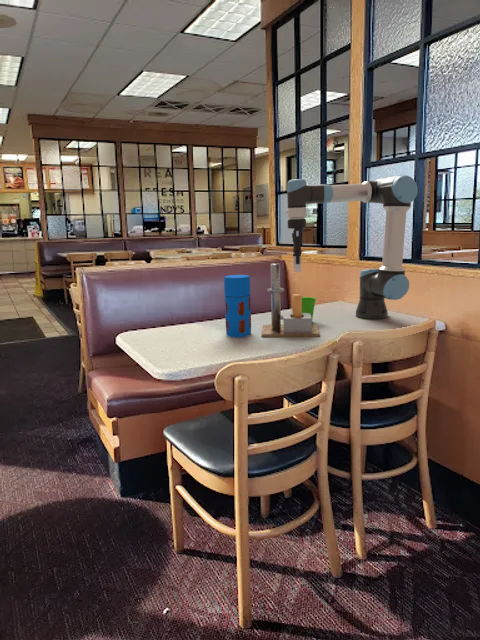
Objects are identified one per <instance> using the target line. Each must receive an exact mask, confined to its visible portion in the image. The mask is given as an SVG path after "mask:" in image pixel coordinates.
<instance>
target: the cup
mask: <svg viewBox="0 0 480 640" xmlns="http://www.w3.org/2000/svg"><path fill="white" fill-rule="evenodd" d="M316 300H317V297H313V296H312V297H310V296H304V297H303V296H302V313H310V315H311V318H312V319H313V317H314V312H315V311H314V310H315V305H316Z"/></svg>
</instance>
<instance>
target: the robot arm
mask: <svg viewBox="0 0 480 640" xmlns="http://www.w3.org/2000/svg"><path fill="white" fill-rule="evenodd" d="M416 182H417V181H415V179H414V178H412V177H411V176H409V175H403V174H402V175H395V176H389V177H388V176H387V177H383V178H378V179H374V180H367V181H362V183H351V184H350V183H348V184H325V183H324V184H323V183H322V184H321V183H320V184H307V181H306V179H304V178H303V179H302V178H299V179H289V180H288V181H287V186H286V187H287V188H286V193H287V210H285V214H287V218H288V219H287V229H288V230H291V229H292V231H293V232H292V233H291V238H292V243H293V247H292V252H293V253H292V257H293V262H292V263H293V266H292V267H293V270H294V271H293V273H301V272H302V249H301V248H302V244H301V243H302V237H303V233H302V232H301V229H306V227H307V219H306V217H307V205H312V204H313V205H314V204H315V205H316V204H328V203H329V204H330V203H345V202H362V203H364V204H369V203H370V204H371V203H372V204H383V205H382V208H383V209H384V211H385V222H384V223H385V224H384V236H383V237H384V238H383V250H382V252H383V253H382V262H381V266H380V267H379V268H369V269H362V270H361V271H360V273H359V302H358V304H357V307H356V309H355V317H357V318H359V319H365V320H366V319H369V320H377V319H378V320H380V319H386V318H388V316H389V315H388V314H389V312H388V309H387V305H386V302H385V299H386V300H393V301H397V300H400V299H402V298H403V297H405V296H406V295H407V293H408V292H409V289H410V280H409V278H408V277H407V276H406V269H405V268H404V267H403V257H404V248H405V246H404V245H405V236H406V235H405V234H406V223H407V213H408V211H409V210H410V209H411V206H412V205H411V204H412V202H414V200H415V199H417V196H418V192H419V191H418V189H419V188H418V185H417V183H416Z"/></svg>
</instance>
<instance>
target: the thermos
mask: <svg viewBox="0 0 480 640" xmlns="http://www.w3.org/2000/svg"><path fill="white" fill-rule="evenodd" d="M223 287H224V288H223V289H224V291H223V292H224V313H225V316H224V317H225V332H226V333H225V334H226V336H227V337H229V336H230V337H231V338H247V337H249V336H251V334H252V313H251V312H252V310H251V309H252V308H251V307H252V305H251V279H250V275H247V274H231V275H229V274H228V275H226V276H224V279H223ZM230 337H229V338H230Z"/></svg>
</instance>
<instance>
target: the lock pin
mask: <svg viewBox="0 0 480 640" xmlns="http://www.w3.org/2000/svg"><path fill="white" fill-rule="evenodd" d="M291 295H292V296H291V299H292V300H291V301H292V302H291V303H292V306H291V307H292V309H291V311H292V312H291V313H292V317H302V297H303V295H302V294H299V293H298V294H297V293H296V294H291Z"/></svg>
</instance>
